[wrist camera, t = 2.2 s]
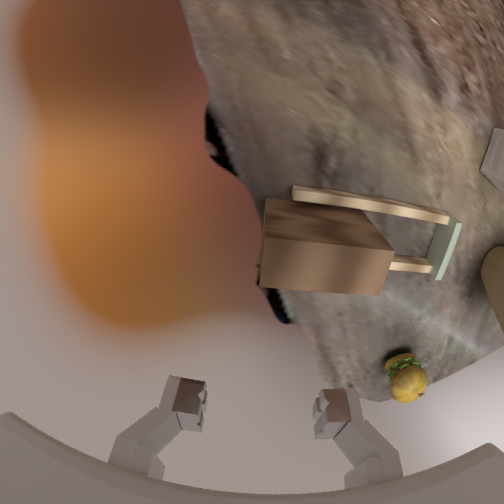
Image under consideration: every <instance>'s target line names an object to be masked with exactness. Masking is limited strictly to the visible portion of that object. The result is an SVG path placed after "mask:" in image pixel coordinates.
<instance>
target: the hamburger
mask: <svg viewBox="0 0 504 504" xmlns="http://www.w3.org/2000/svg"><path fill="white" fill-rule="evenodd" d="M385 369H386V370H389V372H388V376H389V377H390V380H389V381H390V383H392V385H391V395H392V397H393V398H394V400H396V401H398V402H400V403H409V402H412V401H413V400H416V399H417V398H418V397H421V396H422V395H424V394H425V393H423V392H424V390H425V388H426V387H427V381H428V378H427V374H426V372H425V370H424V369H423V368H421V365H420V366H419V363H418V359H417V357H416V355H415V354H413V353H403V354H399V355H396V356H394V357H392V358H390V359H389V360H388V361H387V362H386V363H385Z"/></svg>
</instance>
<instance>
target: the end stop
mask: <svg viewBox="0 0 504 504" xmlns="http://www.w3.org/2000/svg"><path fill="white" fill-rule="evenodd" d="M442 212H444V211H442ZM444 213H445V214H446V215H448V216H449V217H450V218H449V221H448V224H447V225H445V224H440V223H438V225H437V228H436V231H435V235H434V237H433V240H432V243H431V246H430V249H429V252H428V254H427V257H426V259H427V260H428V261H429V263H430V264H431V265H432V269H431V271H430V274H431V275H432V277H433V278H434V279H435V280H441V279H442V276H443V274H444V272H445V269H446V267H447V265H448V262H449V260H450V257H451V255H452V252H453V249H454V247H455V244H456V241H457V238H458V236H459V233H460V230H461V227H462V223H461V222H460V221H458V220H457V219H456V218H454V217H453V216H452V215H450V214H449V213H448V212H444Z"/></svg>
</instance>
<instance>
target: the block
mask: <svg viewBox="0 0 504 504" xmlns="http://www.w3.org/2000/svg"><path fill="white" fill-rule="evenodd" d="M394 253H395V251H394V249H393V248H392V247H391V246H390V244H389V243H388V242H387V240H386V239H385V238H384V237H383V236H382V234H381V233H380V232H379V231H378V229H377V228H376V227H375V226H374V225H373V223H372V222H371V221H370V220H369V219H368V217H367V216H366V215H365V214H364V213H363V212H362V211H361V210H360V209H354V208H347V207H340V206H333V205H325V204H318V203H310V202H301V201H293V200H284V199H274V198H266V201H265V211H264V221H263V230H262V245H261V265H260V284H259V287H267V288H278V289H290V290H302V291H316V292H330V293H345V294H362V295H379V294H380V292H381V289H382V287H383V284H384V281H385V279H386V276H387V273H388V271H389V268H390V265H391V262H392V259H393V256H394Z"/></svg>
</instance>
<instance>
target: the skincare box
mask: <svg viewBox="0 0 504 504" xmlns="http://www.w3.org/2000/svg"><path fill="white" fill-rule="evenodd" d="M480 171H481V172H482V173H483V174H484V175H485V176H486V177H487V178H488V179H489V180H490V181H491V182H492V183H493V185H494V186H495V187H496V188H497V189H498V190H500V191H502V192H504V130H503V129H498V128H494V130H493V134H492V137H491V140H490V143H489V146H488V149H487V152H486V155H485V158H484V161H483V163H482V166H481V169H480Z"/></svg>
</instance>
